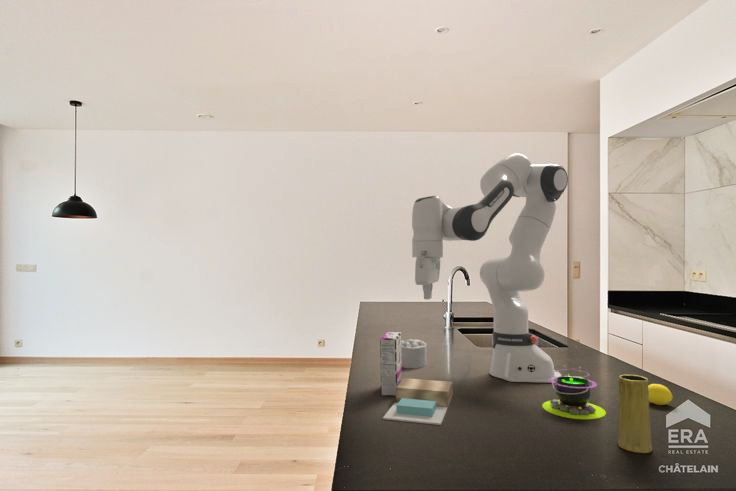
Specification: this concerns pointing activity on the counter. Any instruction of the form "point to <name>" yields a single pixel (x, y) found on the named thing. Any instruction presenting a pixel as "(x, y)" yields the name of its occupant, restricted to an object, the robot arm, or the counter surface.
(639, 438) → the vase
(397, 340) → the candy bar box
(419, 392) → the wooden block
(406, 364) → the lumpy-topped squat cylinder
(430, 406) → the teal rectangular block
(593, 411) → the toy cauldron
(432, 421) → the mat
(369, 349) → the counter surface
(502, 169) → the robot arm
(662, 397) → the lemon
